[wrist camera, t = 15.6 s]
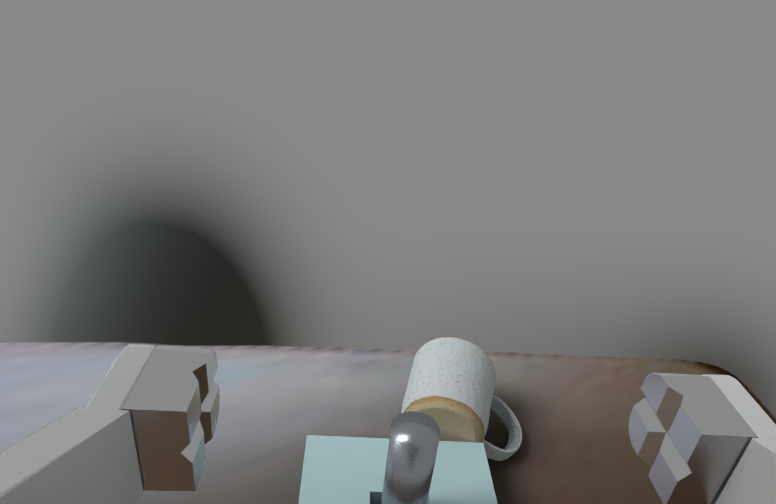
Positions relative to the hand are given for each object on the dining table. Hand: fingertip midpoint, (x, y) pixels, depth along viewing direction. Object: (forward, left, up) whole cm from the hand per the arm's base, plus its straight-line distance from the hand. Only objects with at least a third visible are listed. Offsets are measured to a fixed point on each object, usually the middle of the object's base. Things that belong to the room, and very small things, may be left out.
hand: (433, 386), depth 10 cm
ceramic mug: (+9, +28, -30) cm, 42 cm away
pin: (+3, +16, -30) cm, 34 cm away
